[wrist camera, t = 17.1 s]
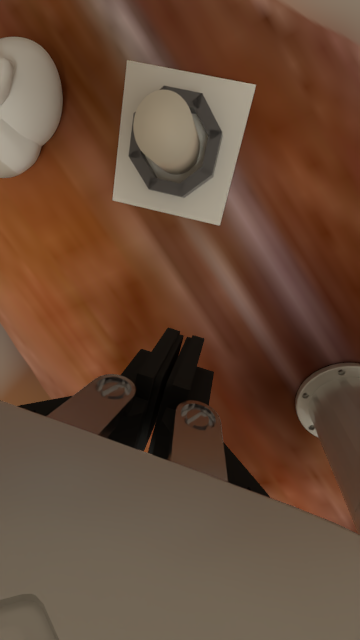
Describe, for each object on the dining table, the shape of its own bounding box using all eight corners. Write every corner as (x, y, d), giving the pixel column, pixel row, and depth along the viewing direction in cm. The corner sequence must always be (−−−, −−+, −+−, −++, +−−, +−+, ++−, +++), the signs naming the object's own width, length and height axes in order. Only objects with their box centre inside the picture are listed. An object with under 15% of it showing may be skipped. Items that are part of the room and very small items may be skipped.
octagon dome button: (255, 89, 26) (258, 75, 24) (220, 225, 31) (219, 226, 29) (130, 65, 27) (120, 49, 25) (115, 200, 32) (105, 199, 30)
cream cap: (206, 127, 27) (200, 98, 21) (193, 180, 29) (183, 168, 23) (159, 115, 28) (139, 82, 21) (149, 168, 30) (128, 153, 23)
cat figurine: (-14, -21, 19) (-100, 153, 23) (83, 86, 24) (-1, 215, 28) (9, 15, 27) (-59, 143, 30) (81, 92, 31) (14, 194, 35)
